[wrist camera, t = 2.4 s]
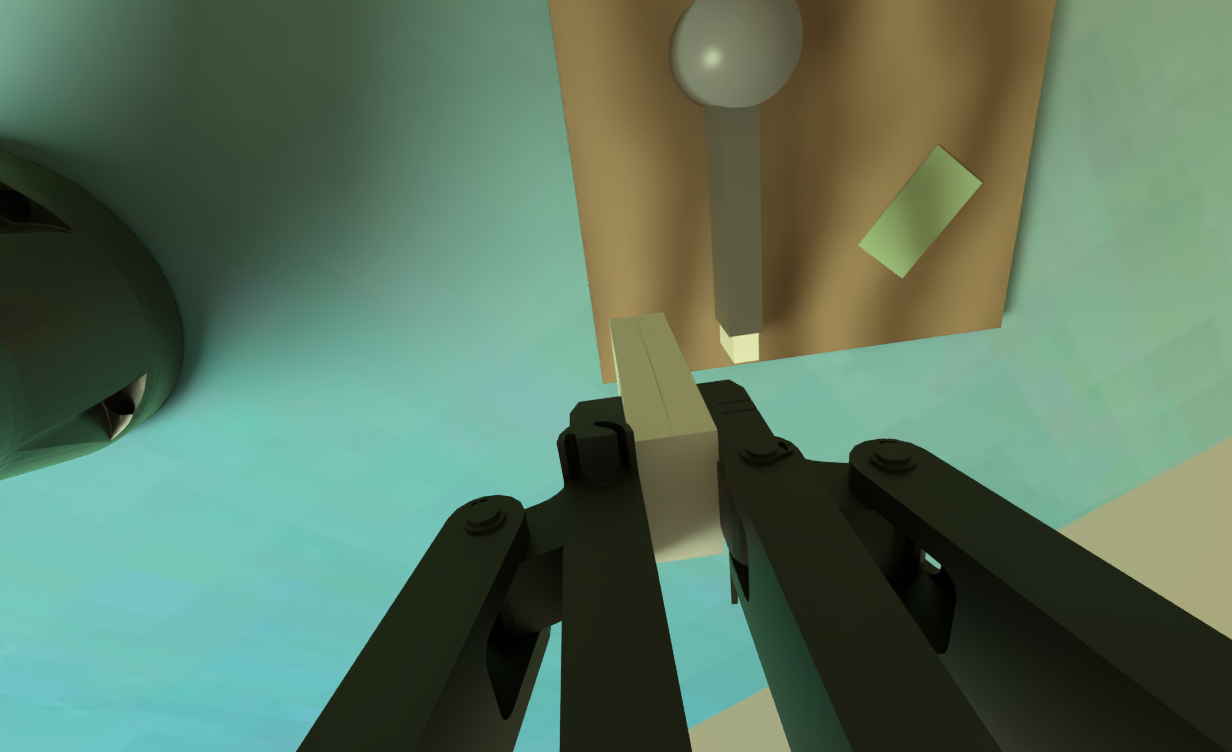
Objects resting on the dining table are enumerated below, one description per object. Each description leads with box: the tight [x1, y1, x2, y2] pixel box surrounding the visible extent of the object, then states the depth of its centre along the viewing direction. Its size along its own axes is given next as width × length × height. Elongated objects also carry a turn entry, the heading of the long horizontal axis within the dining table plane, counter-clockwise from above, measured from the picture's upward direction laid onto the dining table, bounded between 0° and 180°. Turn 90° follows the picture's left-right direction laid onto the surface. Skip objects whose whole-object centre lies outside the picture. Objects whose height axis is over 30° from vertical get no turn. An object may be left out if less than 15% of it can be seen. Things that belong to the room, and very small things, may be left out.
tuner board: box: [548, 0, 1056, 384], centre depth 28 cm, size 22×18×1 cm
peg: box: [669, 0, 803, 364], centre depth 26 cm, size 16×4×4 cm, turn 7°
